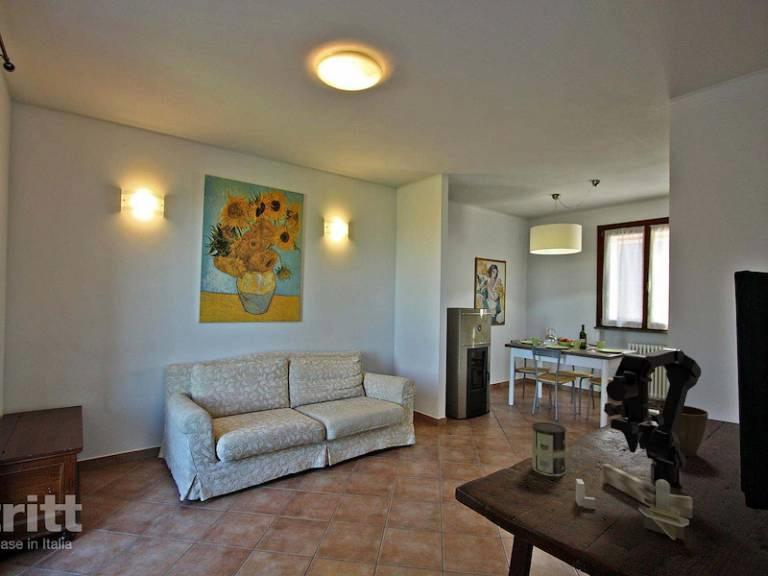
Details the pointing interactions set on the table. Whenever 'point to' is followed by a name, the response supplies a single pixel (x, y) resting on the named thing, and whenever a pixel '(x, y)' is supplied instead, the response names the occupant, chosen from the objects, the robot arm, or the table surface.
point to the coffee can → (549, 449)
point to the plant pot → (690, 429)
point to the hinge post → (662, 494)
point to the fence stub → (681, 505)
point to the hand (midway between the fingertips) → (637, 450)
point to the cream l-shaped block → (583, 496)
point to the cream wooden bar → (630, 485)
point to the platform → (664, 521)
